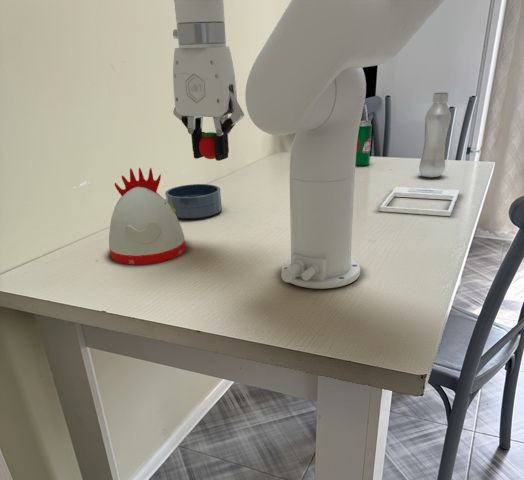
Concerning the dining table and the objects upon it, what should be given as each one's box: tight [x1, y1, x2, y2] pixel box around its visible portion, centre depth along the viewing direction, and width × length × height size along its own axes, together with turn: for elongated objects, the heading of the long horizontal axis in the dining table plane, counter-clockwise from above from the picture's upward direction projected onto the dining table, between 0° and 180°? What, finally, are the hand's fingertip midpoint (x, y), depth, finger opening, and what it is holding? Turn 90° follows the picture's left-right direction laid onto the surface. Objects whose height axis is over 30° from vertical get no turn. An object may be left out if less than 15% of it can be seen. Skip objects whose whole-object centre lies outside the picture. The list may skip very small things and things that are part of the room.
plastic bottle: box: [418, 92, 452, 179], centre depth 131 cm, size 6×7×20 cm
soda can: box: [355, 119, 373, 167], centre depth 150 cm, size 5×5×12 cm
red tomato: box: [199, 131, 217, 160], centre depth 89 cm, size 4×4×4 cm
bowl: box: [164, 183, 223, 220], centre depth 115 cm, size 12×12×5 cm
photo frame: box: [379, 186, 460, 217], centre depth 115 cm, size 15×1×18 cm
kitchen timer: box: [108, 166, 187, 266], centre depth 92 cm, size 14×14×15 cm
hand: (211, 157), depth 90 cm, fingers closed on red tomato, 3 cm apart
